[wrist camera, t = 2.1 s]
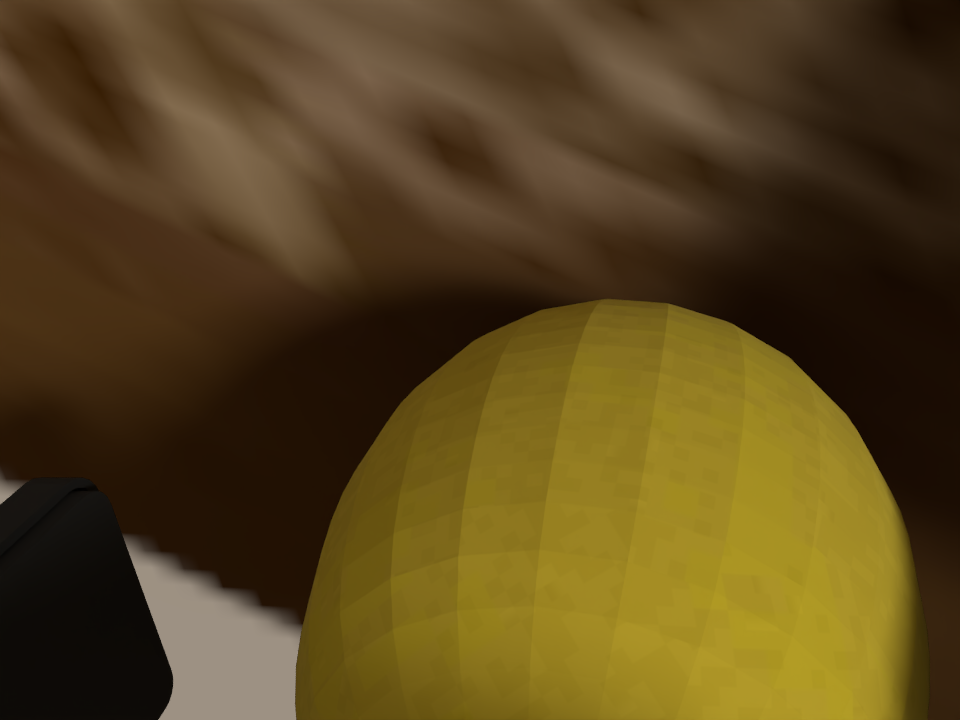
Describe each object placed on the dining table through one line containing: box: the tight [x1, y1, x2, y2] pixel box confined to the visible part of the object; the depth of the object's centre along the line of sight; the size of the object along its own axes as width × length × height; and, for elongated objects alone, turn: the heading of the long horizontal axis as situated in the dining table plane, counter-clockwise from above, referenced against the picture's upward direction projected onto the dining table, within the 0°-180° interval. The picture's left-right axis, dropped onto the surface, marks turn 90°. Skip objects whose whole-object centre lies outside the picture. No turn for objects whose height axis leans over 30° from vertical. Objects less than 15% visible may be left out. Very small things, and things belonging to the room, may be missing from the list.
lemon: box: [295, 299, 930, 720], centre depth 9 cm, size 6×6×8 cm
